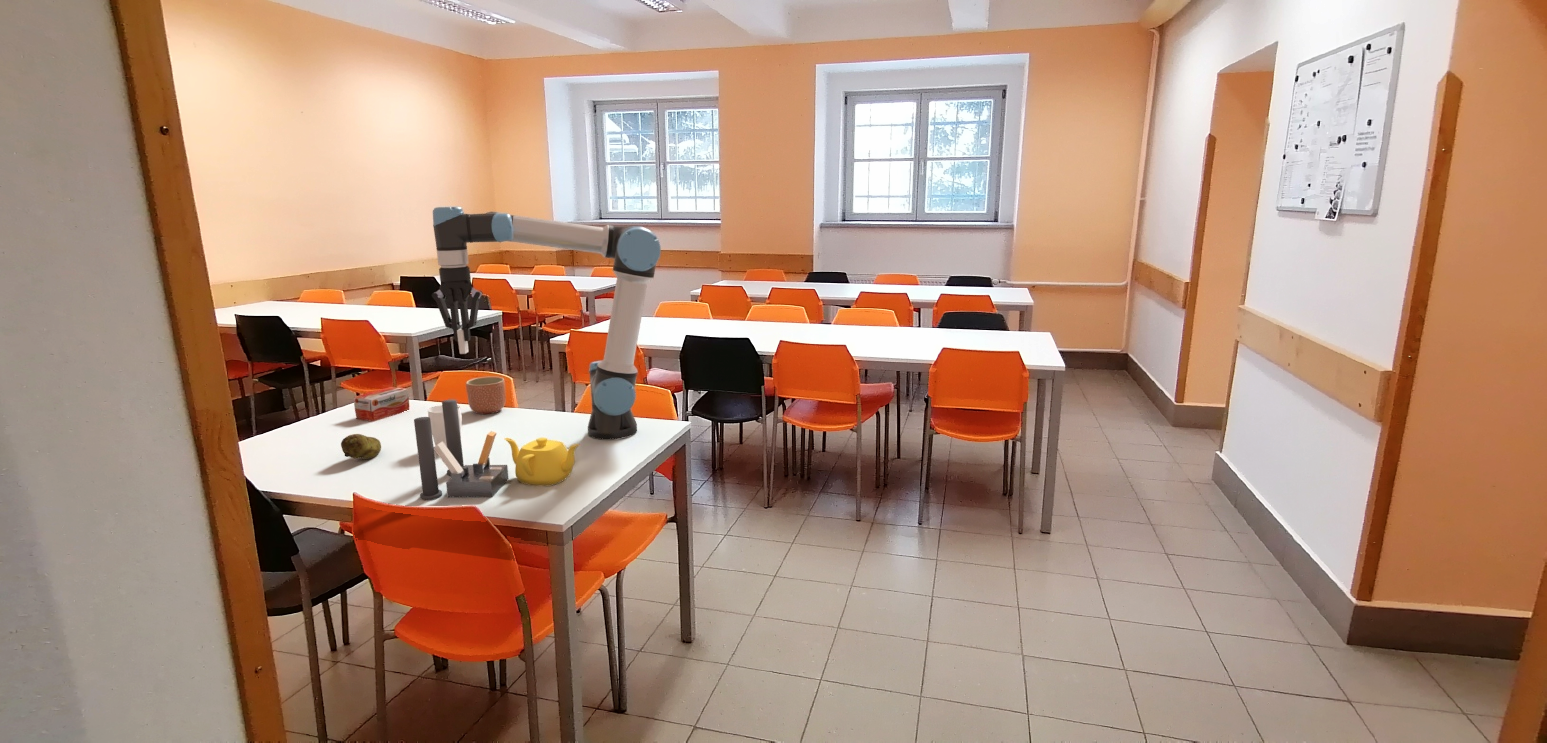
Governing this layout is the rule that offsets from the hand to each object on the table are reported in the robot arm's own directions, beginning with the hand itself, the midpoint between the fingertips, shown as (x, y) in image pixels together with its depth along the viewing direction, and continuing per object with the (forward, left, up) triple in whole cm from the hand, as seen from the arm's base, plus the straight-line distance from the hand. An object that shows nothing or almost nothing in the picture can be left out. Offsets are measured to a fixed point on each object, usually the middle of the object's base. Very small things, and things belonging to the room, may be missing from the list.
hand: (464, 352), depth 205 cm
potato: (+32, -2, -31) cm, 45 cm away
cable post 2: (+1, +10, -31) cm, 33 cm away
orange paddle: (-9, +18, -26) cm, 33 cm away
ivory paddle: (-6, +25, -26) cm, 36 cm away
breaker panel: (-9, +21, -31) cm, 39 cm away
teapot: (-23, +16, -31) cm, 42 cm away
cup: (+12, -11, -31) cm, 35 cm away
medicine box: (+49, -46, -31) cm, 74 cm away
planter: (+14, -49, -31) cm, 59 cm away
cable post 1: (+1, +26, -31) cm, 41 cm away
